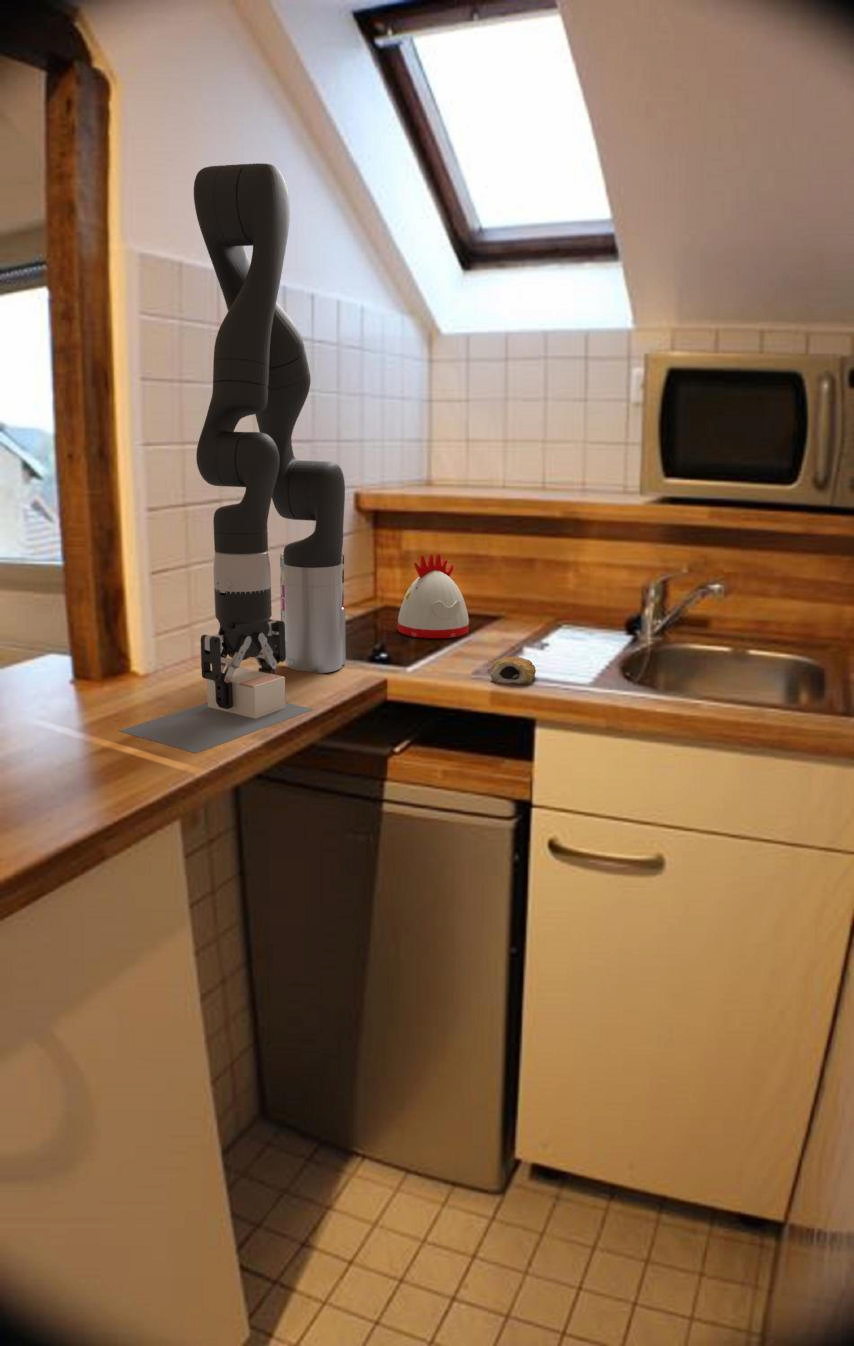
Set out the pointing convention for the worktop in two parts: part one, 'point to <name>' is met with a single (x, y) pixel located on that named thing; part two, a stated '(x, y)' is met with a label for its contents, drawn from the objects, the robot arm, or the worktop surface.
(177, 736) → the mat
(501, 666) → the pastry
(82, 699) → the worktop surface
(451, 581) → the kitchen timer
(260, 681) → the card deck
